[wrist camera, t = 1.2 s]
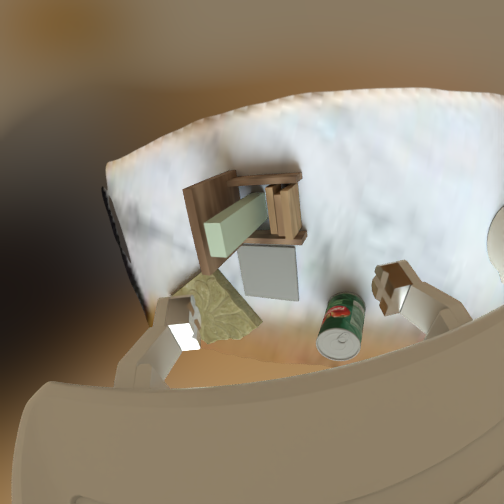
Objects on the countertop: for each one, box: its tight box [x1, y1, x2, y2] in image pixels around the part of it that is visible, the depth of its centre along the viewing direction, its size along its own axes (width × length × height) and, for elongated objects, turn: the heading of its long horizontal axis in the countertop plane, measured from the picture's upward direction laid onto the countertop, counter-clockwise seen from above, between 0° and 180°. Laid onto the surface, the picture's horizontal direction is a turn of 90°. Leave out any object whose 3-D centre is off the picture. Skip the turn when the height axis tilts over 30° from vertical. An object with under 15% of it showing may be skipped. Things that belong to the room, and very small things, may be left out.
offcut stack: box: [265, 183, 302, 240], centre depth 45 cm, size 4×8×6 cm, turn 10°
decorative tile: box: [172, 269, 263, 344], centre depth 66 cm, size 19×20×4 cm
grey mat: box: [237, 245, 299, 301], centre depth 55 cm, size 12×12×1 cm
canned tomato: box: [316, 292, 365, 361], centre depth 47 cm, size 8×8×11 cm
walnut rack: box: [182, 170, 307, 276], centre depth 43 cm, size 14×14×14 cm
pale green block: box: [204, 192, 268, 258], centre depth 43 cm, size 3×5×16 cm, turn 10°
